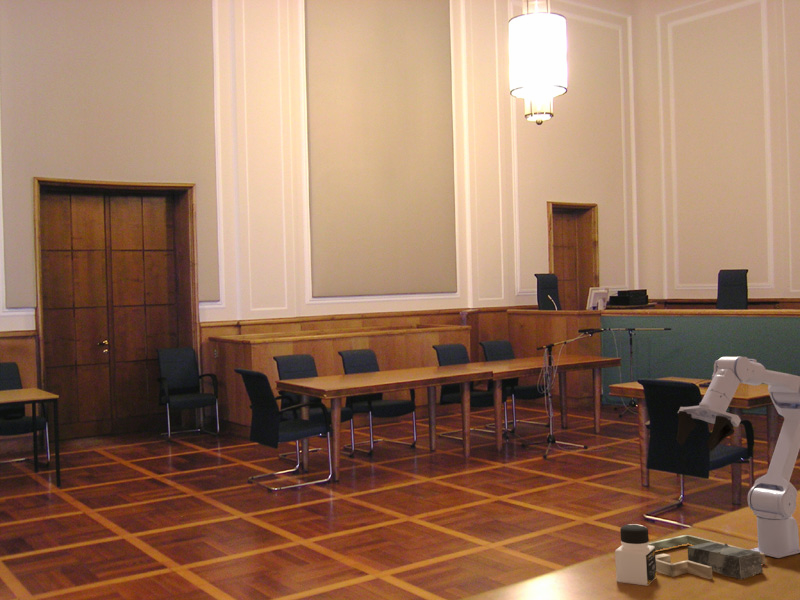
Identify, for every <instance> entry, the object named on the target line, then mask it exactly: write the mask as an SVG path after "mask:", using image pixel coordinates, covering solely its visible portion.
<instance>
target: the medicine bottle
mask: <svg viewBox="0 0 800 600" xmlns="http://www.w3.org/2000/svg"><path fill="white" fill-rule="evenodd" d="M619 532H620V533H619V534H620V544H621V545H620V546H619V547H618V548H616V549H615V551H614V552H615V553H614V555H615V556H614V559H615V575H616V576H615V578H616V580H615V581H616V582H617V583H621V584H623V583H624V584H628V585H629V584H630V585H638V586H643V587H644V586H645V587H647V586H649V585H650V584H651V583H652V582H654V580H655V579H656V578H657V572H656V557H655V555H656V553H655V546H650V545H649V543H650V541H649V529H648V528H647V527H646V526H644V525H641V524H637V523H635V524H634V523H632V524H631V523H630V524H628V523H627V524H625V525H622V526H621V527H620V530H619Z"/></svg>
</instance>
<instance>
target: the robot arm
mask: <svg viewBox="0 0 800 600" xmlns="http://www.w3.org/2000/svg"><path fill="white" fill-rule="evenodd" d="M740 384H745V385H749V386H753V387H754V386H755V387H756V386H759V385H762V384H765V385H768V386H767V391H768V394H769V397H770V399H771V402H772V403H773V406H774V408H775V409H776V411H777V413H778V415H780V416H781V417H783V419H784V420H783V422H782V426H781V429H780V433H779V434H778V435H779V436H778V438H777V441H776V445H775V447H774V452H773V454H772V456H771V460H770V464H769V467H768V469H767V471H766V472H767V473H766V474H763V475H762V476H760V477H758V478H757V479H755V481H754V483H753V485H752V487H751V488H750V489H749V490H748V493H747V504H748V507H749V509H750V510H751V511H753V516H756V532H757V534H756V535H757V547H754V548H751V549H750V550H752V551H758V552H760V553H764V554H765V556H768V557H772V558H776V559H781V558H785V557H788V556H793V555H797V554H799V553H800V539H799V525H798V522H797V520H796V519H795V518H794V517H793V514H794V513H795V511H796V509H797V496H798V490H797V489H796V487H795V486H794V485H793V484H792V482H790V480H791V477H792V475H793V471H794V468H795V465H796V461H797V459H798V455H799V452H800V376H798V375H795V374H791V373H785V372H781V371H775V370H771V369H770V370H769V369H766V367H765V366H764V365H763V364H762V363H760V362H758V361H757V359H755V358H748V357H747V356H721V357H720V358H719V359H717V360H715V361H714V364H713V373H712V375H711V381H710V384H709V386H708V388H707V389H706V392H705V393H704V395H703V397H702V399H701V401H700V402H699V403H698V404H699V405H692V406H691V405H690V406H680V407H679V410H678V411H677V415H678V416H677V417H678V429H677V436H676V442H678V445H680V446H684V444H685V443H686V441H687V439H688V438H689V435H690V433H691V432H692V431H693V430H694V429H695V428H697V426H698V424H697V423H696V422H695V419H696V420H701V421H703V422H706V423H710V424H713V427H712V430H711V433H710V435H709V437H708V440H707V442H706V447H707V448H708V449H709V451H711V452H712V451H714V450H715V449H716V448H717V446H719V444H721V442H723V441H724V440H725V439H726V438H728V437H730V436H732V435H734V433H735V429H734V427H736V428H738V427H739V425H740V423H741V421H742V420H741V418H740V416H739V415H738V414H733V413H730V412H727V410H728V408H729V406H730V404H731V402H732V400H733V398H734V396H735V393H736V392H737V389H738V387H739V385H740Z"/></svg>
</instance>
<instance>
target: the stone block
mask: <svg viewBox="0 0 800 600" xmlns="http://www.w3.org/2000/svg"><path fill="white" fill-rule="evenodd" d="M724 544H725V545H723V544H717V543H712V542H708V543H702V544H698V545H694V546H687V560H689V561H692V562H696V563H700V564H703V565H707V566H710V567H712V572H714V573H717V574H720V575H722V576H724V577H730V578H731V577H732V578H735V579H736V580H739V579H740V581H742V580H745V579H748V578H751V577H750V576H752V577H754V576H753V575H755V576H757V575H758V574H759V573H762V572H763V573H764V570H763V565H761V558H760V552H758V551H752V550H751V549H748V550H747V548H744V549H741V548H742V547H740V548H736V547H737V546H736V547H731V546H728V545H729V544H728V543H724ZM727 544H728V545H727ZM763 573H762V574H763ZM756 574H757V575H756ZM759 575H760V574H759ZM747 577H748V578H747ZM744 578H745V579H744ZM741 579H742V580H741Z"/></svg>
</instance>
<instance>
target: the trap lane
mask: <svg viewBox="0 0 800 600" xmlns="http://www.w3.org/2000/svg"><path fill="white" fill-rule="evenodd" d="M708 542H712V543H717V544H723V545H725V544H727V545H728V546H731V547H736V548H741V549H745V548H743V547H740V546H739V547H738V546H736V545H731V544H729V543H723V542H719V541H715V540H711V539H707V538H704V537H699V536H694V535H690V534H684V535H683V534H682V535H679V536H673V537H669V538H664V539H661V540H656V541H649V545H650V546H655V551H656V550H660V549H663V548H669V547H673V546H678V545H682V544H687V543H689V544H692V545H698V544H702V543H708ZM746 549H747V548H746ZM747 550H749V548H748V549H747ZM655 557H656V573H659V574H663V575H665V576H670V577H676V576H680V575H685V574H687V573H688V574H691V575H694V576H697V575H698V576H697V577H701V578H704V579H708V580H711V579H713V571H712V567H710V566H707V565H703V564H700V563H696V562H692V561H689V560H688V559H686V560H682V561H677V562H671V561H672V560H671V559H672V558H671V555H670V554H667V553H660V554H655ZM760 558H761V564H765V565H766V555H765V554H764V553H760Z"/></svg>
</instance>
